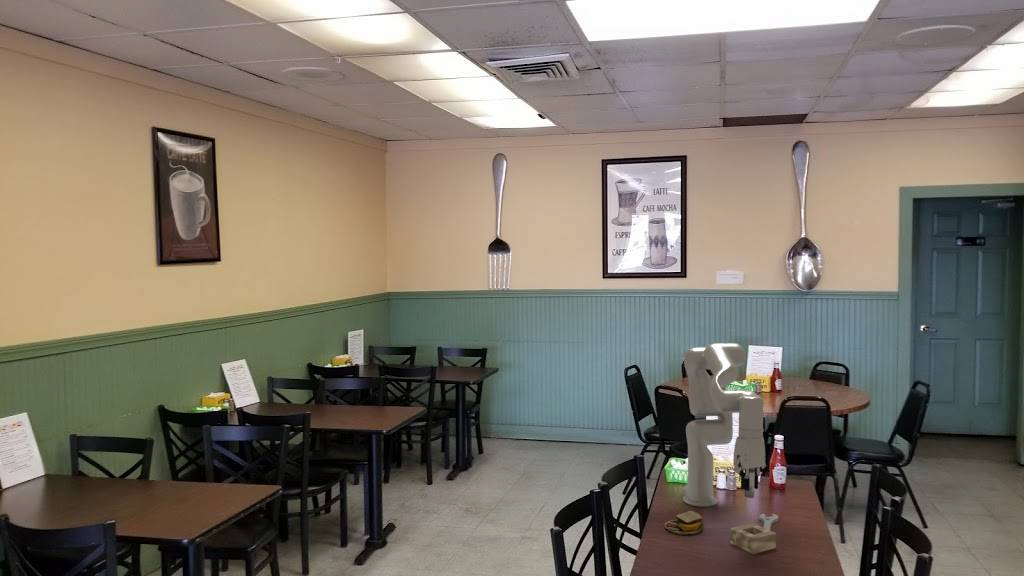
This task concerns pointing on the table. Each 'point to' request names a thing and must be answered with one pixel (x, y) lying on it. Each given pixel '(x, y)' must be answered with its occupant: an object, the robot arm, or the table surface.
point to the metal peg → (751, 484)
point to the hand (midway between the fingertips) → (749, 488)
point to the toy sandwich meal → (685, 523)
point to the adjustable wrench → (768, 520)
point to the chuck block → (753, 538)
